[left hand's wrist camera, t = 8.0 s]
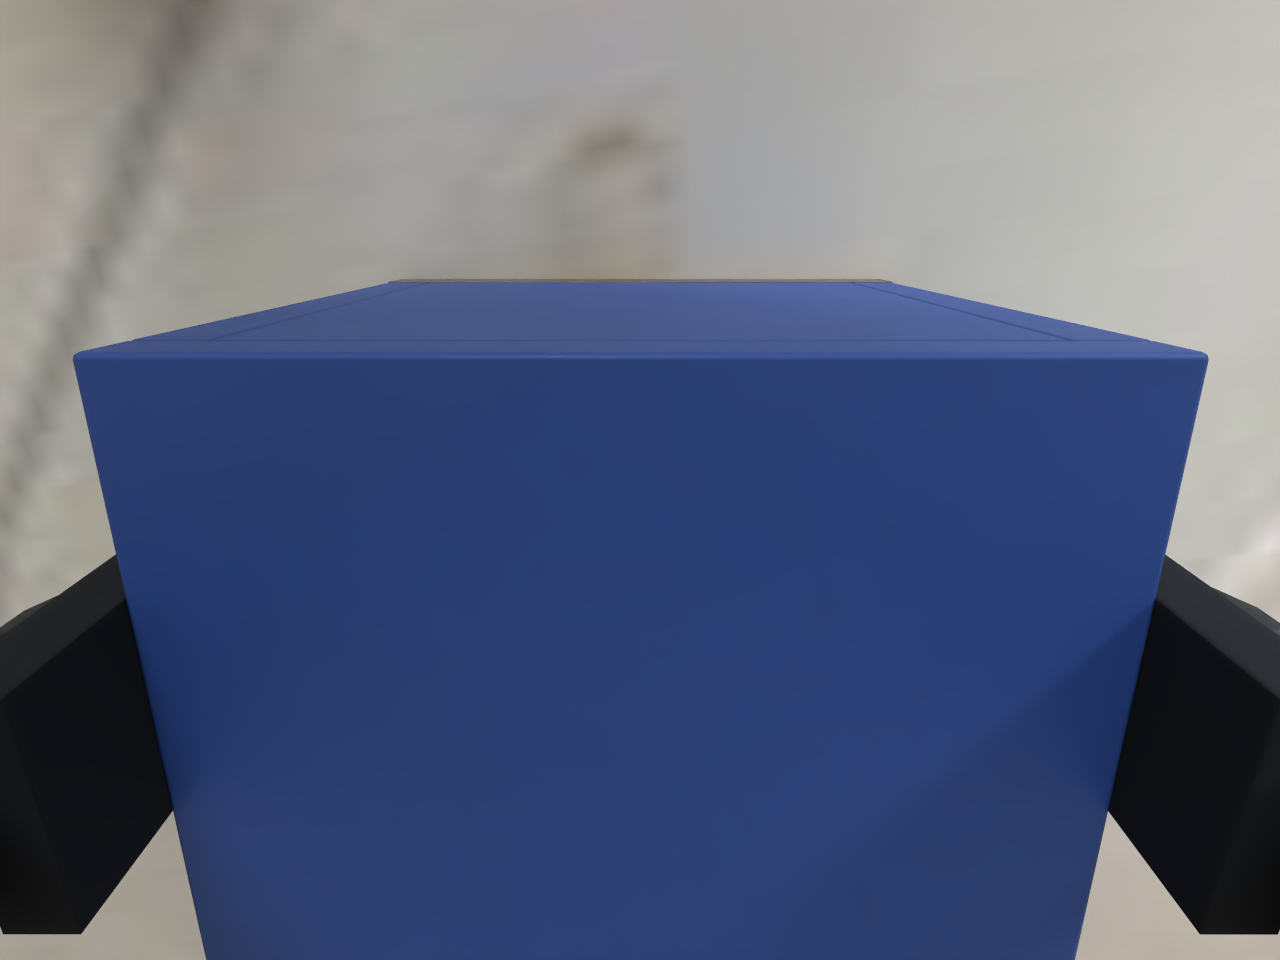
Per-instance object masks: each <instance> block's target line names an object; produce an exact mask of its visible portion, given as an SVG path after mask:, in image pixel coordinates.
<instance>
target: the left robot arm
mask: <svg viewBox="0 0 1280 960" xmlns="http://www.w3.org/2000/svg"><path fill="white" fill-rule="evenodd" d="M172 811H173V807H172V803H171V798H170V794H169V789H168V785H167V780H166V776H165V771H164V767H163V762H162V758H161V753H160V749H159V744H158V740H157V735H156V731H155V726H154V722H153V717H152V713H151V708H150V704H149V699H148V695H147V690H146V686H145V681H144V677H143V672H142V668H141V663H140V659H139V654H138V650H137V645H136V641H135V636H134V632H133V627H132V623H131V618H130V614H129V609H128V605H127V600H126V596H125V591H124V587H123V582H122V578H121V573H120V569H119V564H118V560H117V555H115V556H113V557H112V558H110V559H109V560H108V561H106V562H105V563H103V564H102V565H100V566H99V567H98V568H96V569H95V570H93V571H92V572H91V573H89V574H88V575H86V576H85V577H84V578H82V579H81V580H79V581H78V582H77V583H75V584H74V585H72V586H71V587H70V588H68V589H67V590H65V591H64V592H63V593H61V594H60V595H58V596H56V597H54V598H51V599H49V600H47V601H45V602H43V603H40V604H38V605H36V606H34V607H31V608H29V609H27V610H25V611H23V612H22V613H20V614H19V615H17V616H16V617H15V618H13V619H12V620H10V621H9V622H7V623H6V624H5V625H3V626H2V627H0V927H1V930H2V932H3V934H82V932H83V931H84V929H85V928H86V927H87V925H88V924H89V923H90V921H91V920H92V919H93V917H94V916H95V915H96V913H97V912H98V911H99V909H100V908H101V907H102V905H103V904H104V903H105V901H106V900H107V899H108V897H109V896H110V894H111V893H112V892H113V890H114V889H115V888H116V886H117V885H118V884H119V882H120V881H121V880H122V878H123V877H124V876H125V874H126V873H127V872H128V870H129V869H130V868H131V866H132V865H133V864H134V862H135V861H136V859H137V858H138V857H139V855H140V854H141V853H142V851H143V850H144V849H145V847H146V846H147V845H148V843H149V842H150V841H151V839H152V838H153V837H154V835H155V834H156V833H157V831H158V830H159V829H160V827H161V826H162V824H163V823H164V822H165V820H166V819H167V818H168V816H169V815H170V814H171V812H172ZM1108 811H1109V813H1110V814H1111V815H1112V817H1113V818H1114V819H1115V821H1116V822H1117V823H1118V825H1119V826H1120V827H1121V829H1122V830H1123V831H1124V833H1125V834H1126V835H1127V837H1128V838H1129V839H1130V841H1131V842H1132V843H1133V845H1134V846H1135V848H1136V849H1137V850H1138V852H1139V853H1140V854H1141V856H1142V857H1143V858H1144V860H1145V861H1146V862H1147V864H1148V865H1149V866H1150V868H1151V869H1152V870H1153V872H1154V873H1155V874H1156V876H1157V877H1158V878H1159V880H1160V881H1161V883H1162V884H1163V885H1164V887H1165V888H1166V889H1167V891H1168V892H1169V893H1170V895H1171V896H1172V897H1173V899H1174V900H1175V901H1176V903H1177V904H1178V905H1179V907H1180V908H1181V909H1182V911H1183V912H1184V913H1185V915H1186V916H1187V918H1188V919H1189V920H1190V922H1191V923H1192V924H1193V926H1194V927H1195V928H1196V930H1197V931H1198V932H1199V934H1278V933H1279V930H1280V623H1279V622H1277V621H1276V620H1275V619H1273V618H1272V617H1270V616H1269V615H1267V614H1266V613H1264V612H1263V611H1261V610H1260V609H1259V608H1257V607H1255V606H1252V605H1250V604H1248V603H1246V602H1243V601H1241V600H1239V599H1237V598H1234V597H1232V596H1230V595H1228V594H1226V593H1223V592H1221V591H1219V590H1217V589H1214V588H1212V587H1210V586H1209V585H1207V584H1206V583H1204V582H1203V581H1202V580H1200V579H1199V578H1197V577H1196V576H1195V575H1193V574H1192V573H1190V572H1189V571H1188V570H1186V569H1185V568H1183V567H1182V566H1180V565H1179V564H1178V563H1176V562H1175V561H1173V560H1172V559H1171V558H1169V557H1168V556H1166V555H1165V557H1164V562H1163V566H1162V571H1161V575H1160V580H1159V584H1158V589H1157V593H1156V598H1155V602H1154V607H1153V611H1152V616H1151V620H1150V624H1149V629H1148V633H1147V638H1146V642H1145V647H1144V651H1143V656H1142V660H1141V665H1140V669H1139V674H1138V678H1137V683H1136V687H1135V692H1134V696H1133V701H1132V705H1131V710H1130V714H1129V719H1128V723H1127V728H1126V732H1125V737H1124V741H1123V746H1122V750H1121V755H1120V759H1119V763H1118V768H1117V772H1116V777H1115V781H1114V786H1113V790H1112V795H1111V799H1110V804H1109V808H1108Z"/></svg>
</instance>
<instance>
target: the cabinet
mask: <svg viewBox="0 0 1280 960" xmlns="http://www.w3.org/2000/svg"><path fill="white" fill-rule="evenodd" d="M73 362H74V367H75V371H76V376H77V380H78V385H79V389H80V394H81V398H82V403H83V407H84V412H85V416H86V421H87V425H88V430H89V434H90V439H91V443H92V448H93V452H94V456H95V461H96V465H97V470H98V474H99V479H100V483H101V488H102V492H103V497H104V501H105V506H106V510H107V515H108V519H109V524H110V528H111V533H112V537H113V542H114V546H115V551H116V555H117V560H118V564H119V569H120V573H121V578H122V582H123V587H124V591H125V596H126V600H127V605H128V609H129V614H130V618H131V623H132V627H133V632H134V636H135V641H136V645H137V650H138V654H139V659H140V663H141V668H142V672H143V677H144V681H145V686H146V690H147V695H148V699H149V704H150V708H151V713H152V717H153V722H154V726H155V731H156V735H157V740H158V744H159V749H160V753H161V758H162V762H163V767H164V771H165V776H166V780H167V785H168V789H169V794H170V798H171V803H172V807H173V812H174V816H175V821H176V825H177V830H178V834H179V839H180V843H181V848H182V852H183V857H184V861H185V866H186V870H187V875H188V879H189V884H190V888H191V893H192V897H193V902H194V906H195V911H196V915H197V920H198V924H199V929H200V933H201V938H202V942H203V947H204V951H205V956H206V960H1075V956H1076V952H1077V947H1078V943H1079V938H1080V934H1081V929H1082V925H1083V920H1084V916H1085V911H1086V907H1087V902H1088V898H1089V893H1090V889H1091V885H1092V880H1093V876H1094V871H1095V867H1096V862H1097V858H1098V853H1099V849H1100V844H1101V840H1102V835H1103V831H1104V826H1105V822H1106V817H1107V813H1108V808H1109V804H1110V799H1111V795H1112V790H1113V786H1114V781H1115V777H1116V772H1117V768H1118V763H1119V759H1120V755H1121V750H1122V746H1123V741H1124V737H1125V732H1126V728H1127V723H1128V719H1129V714H1130V710H1131V705H1132V701H1133V696H1134V692H1135V687H1136V683H1137V678H1138V674H1139V669H1140V665H1141V660H1142V656H1143V651H1144V647H1145V642H1146V638H1147V633H1148V629H1149V624H1150V620H1151V616H1152V611H1153V607H1154V602H1155V598H1156V593H1157V589H1158V584H1159V580H1160V575H1161V571H1162V566H1163V562H1164V557H1165V553H1166V548H1167V544H1168V539H1169V535H1170V530H1171V526H1172V521H1173V517H1174V512H1175V508H1176V503H1177V499H1178V494H1179V490H1180V486H1181V481H1182V477H1183V472H1184V468H1185V463H1186V459H1187V454H1188V450H1189V445H1190V441H1191V436H1192V432H1193V427H1194V423H1195V418H1196V414H1197V409H1198V405H1199V400H1200V396H1201V391H1202V387H1203V382H1204V378H1205V373H1206V369H1207V364H1208V355H1207V354H1205V353H1203V352H1200V351H1195V350H1191V349H1186V348H1182V347H1177V346H1173V345H1168V344H1164V343H1159V342H1155V341H1149V340H1147V339H1142V338H1138V337H1133V336H1129V335H1124V334H1120V333H1115V332H1111V331H1106V330H1102V329H1097V328H1093V327H1088V326H1084V325H1079V324H1075V323H1070V322H1065V321H1061V320H1056V319H1052V318H1047V317H1043V316H1038V315H1034V314H1029V313H1025V312H1020V311H1016V310H1011V309H1007V308H1002V307H998V306H993V305H989V304H984V303H980V302H975V301H971V300H966V299H962V298H957V297H953V296H948V295H944V294H939V293H935V292H930V291H926V290H921V289H917V288H912V287H907V286H903V285H898V284H894V283H892V282H890V281H885V280H880V279H400V280H396V281H391V282H389V283H387V284H382V285H378V286H373V287H369V288H364V289H360V290H355V291H351V292H346V293H342V294H337V295H333V296H328V297H324V298H319V299H315V300H310V301H306V302H301V303H297V304H292V305H288V306H283V307H279V308H274V309H270V310H265V311H261V312H256V313H252V314H247V315H243V316H238V317H234V318H229V319H225V320H220V321H216V322H211V323H207V324H202V325H198V326H193V327H189V328H184V329H179V330H175V331H170V332H166V333H161V334H157V335H152V336H148V337H143V338H139V339H134V340H132V341H126V342H122V343H117V344H113V345H108V346H104V347H99V348H95V349H90V350H86V351H81V352H79V353H76V354H75V355H74V357H73Z"/></svg>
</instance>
